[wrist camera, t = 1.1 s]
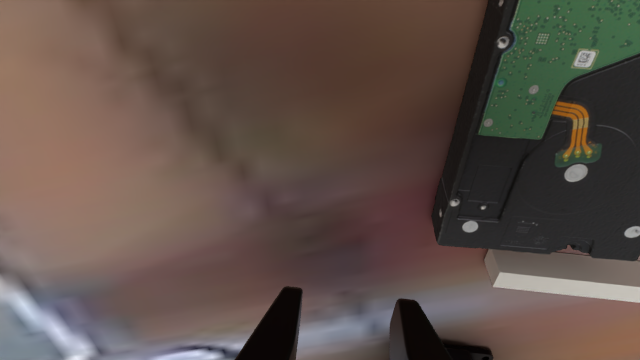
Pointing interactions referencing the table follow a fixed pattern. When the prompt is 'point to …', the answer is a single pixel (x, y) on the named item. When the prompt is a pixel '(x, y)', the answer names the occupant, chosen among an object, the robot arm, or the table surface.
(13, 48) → the table surface
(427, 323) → the robot arm
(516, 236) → the disk drive
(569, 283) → the dock
